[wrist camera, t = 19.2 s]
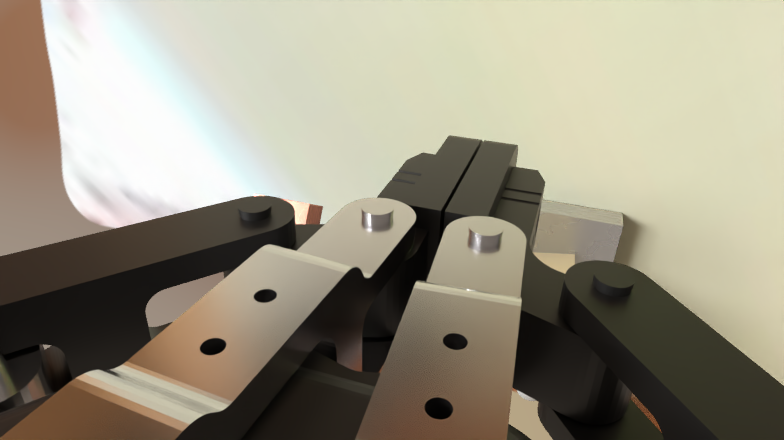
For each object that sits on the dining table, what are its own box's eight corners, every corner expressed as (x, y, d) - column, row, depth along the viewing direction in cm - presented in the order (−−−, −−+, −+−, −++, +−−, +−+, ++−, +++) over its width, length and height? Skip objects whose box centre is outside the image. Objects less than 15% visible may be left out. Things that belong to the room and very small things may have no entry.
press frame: (622, 213, 44) (683, 866, 14) (589, 333, 49) (585, 977, 20) (395, 174, 48) (79, 624, 18) (389, 290, 53) (139, 775, 24)
